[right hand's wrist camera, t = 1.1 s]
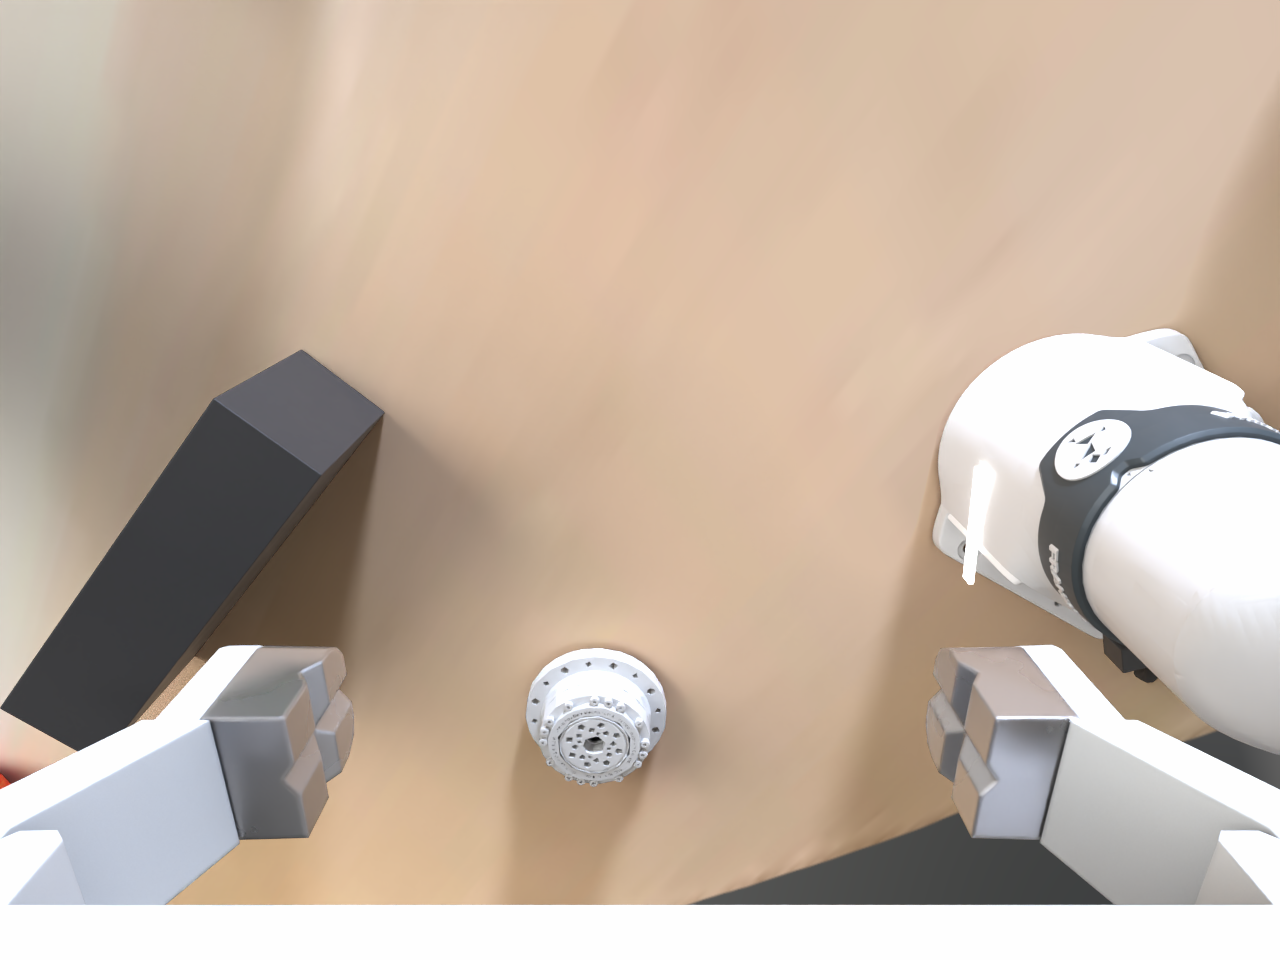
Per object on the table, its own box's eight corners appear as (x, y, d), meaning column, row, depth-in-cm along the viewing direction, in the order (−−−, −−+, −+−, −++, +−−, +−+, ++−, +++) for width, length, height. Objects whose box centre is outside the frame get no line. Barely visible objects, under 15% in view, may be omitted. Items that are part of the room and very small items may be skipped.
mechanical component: (547, 630, 54) (514, 740, 57) (540, 668, 50) (504, 784, 53) (683, 664, 55) (642, 770, 58) (687, 704, 51) (643, 815, 54)
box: (301, 349, 46) (213, 398, 37) (385, 412, 48) (321, 475, 38) (115, 609, 53) (-1, 708, 43) (193, 656, 55) (98, 763, 45)
